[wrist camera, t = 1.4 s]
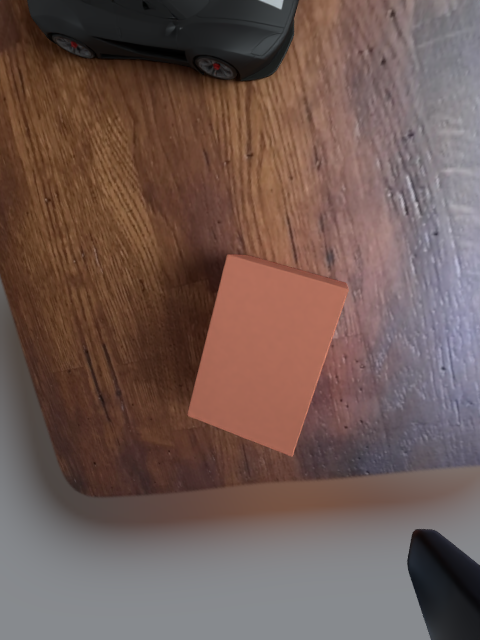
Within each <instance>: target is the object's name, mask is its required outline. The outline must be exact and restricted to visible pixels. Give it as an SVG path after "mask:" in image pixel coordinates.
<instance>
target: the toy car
mask: <svg viewBox="0 0 480 640" xmlns="http://www.w3.org/2000/svg"><path fill="white" fill-rule="evenodd" d="M298 1H299V0H27V2H28V7H29V11H30V14H31V17H32V19H33V20H34V22H35V23H36V24H37V25H38V27H39V28H40V29H41V30H42V32H43V33H44V34H45V35H46V37H47V38H48V39H49V40H50V41H52V42H53V43H55V44H57V45H58V46H60V47H61V48H63V49H64V50H66V51H68V52H70V53H72V54H75V55H77V56H80V57H84V58H93V57H94V56H95V53H96V54H97V58H108V59H144V60H151V61H158V62H166V63H173V64H179V65H184V66H188V67H192V68H194V69H195V70H196V71H198V72H200V73H201V74H203V75H204V73H206V74H208V75H210V76H213V77H215V78H219V79H226V80H229V79H233V78H235V77H236V76H237V72H238V71H239V73H240V77H241V79H240V80H241V81H247V80H255V79H261V78H264V77H267V76H270V75H272V74H273V73H274V72H275V71H276V70H277V69H278V67H279V65H280V64H281V62H282V60H283V58H284V56H285V54H286V52H287V50H288V48H289V46H290V43H291V41H292V39H293V36H294V16H295V13H296V9H297V5H298Z"/></svg>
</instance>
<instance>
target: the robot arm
mask: <svg viewBox="0 0 480 640" xmlns="http://www.w3.org/2000/svg"><path fill="white" fill-rule="evenodd" d="M407 561H408V563H407V564H408V571H409V574H410V577H411V580H412V583H413V586H414V589H415V593H416V595H417V598H418V602H419V605H420V608H421V611H422V614H423V617H424V620H425V623H426V626H427V629H428V632H429V635H430V638H431V640H480V565H478V564H477V563H476V562H475V561H474V560H472V559H471V558H470V557H469V556H467V555H466V554H465V553H464V552H462V551H461V550H460V549H459V548H457V547H456V546H455V545H454V544H452V543H451V542H450V541H448V540H447V539H446V538H445V537H443V536H442V535H441V534H440V533H438V532H437V531H435V530H430V529H429V530H428V529H427V530H426V529H416V530H415V531H414V532H413V534H412V539H411V543H410V549H409V554H408V560H407Z"/></svg>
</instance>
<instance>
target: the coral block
mask: <svg viewBox="0 0 480 640" xmlns="http://www.w3.org/2000/svg"><path fill="white" fill-rule="evenodd" d="M348 290H349V289H348V286H347V284H346V283H345V282H341V281H338V280H334V279H330V278H327V277H323V276H320V275H316V274H313V273H309V272H306V271H302V270H298V269H295V268H291V267H288V266H284V265H281V264H277V263H274V262H270V261H267V260H263V259H259V258H256V257H252V256H249V255H232V254H227V257H226V261H225V265H224V269H223V273H222V277H221V281H220V285H219V289H218V293H217V297H216V301H215V305H214V309H213V313H212V317H211V321H210V325H209V329H208V333H207V337H206V341H205V345H204V349H203V353H202V357H201V361H200V365H199V369H198V373H197V377H196V381H195V385H194V389H193V393H192V397H191V401H190V405H189V409H188V413H187V416H189V417H192V418H194V419H197V420H200V421H202V422H205V423H207V424H210V425H212V426H215V427H217V428H220V429H222V430H225V431H228V432H230V433H233V434H235V435H238V436H240V437H243V438H245V439H248V440H250V441H253V442H256V443H258V444H261V445H263V446H266V447H268V448H271V449H273V450H276V451H278V452H281V453H284V454H286V455H289V456H293V453H294V450H295V447H296V444H297V441H298V439H299V436H300V433H301V430H302V427H303V424H304V421H305V418H306V415H307V412H308V409H309V406H310V403H311V400H312V397H313V394H314V391H315V388H316V385H317V382H318V379H319V376H320V373H321V370H322V367H323V364H324V361H325V359H326V356H327V353H328V350H329V347H330V344H331V341H332V338H333V335H334V332H335V329H336V326H337V323H338V320H339V317H340V314H341V311H342V308H343V305H344V302H345V299H346V296H347V293H348Z"/></svg>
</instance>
